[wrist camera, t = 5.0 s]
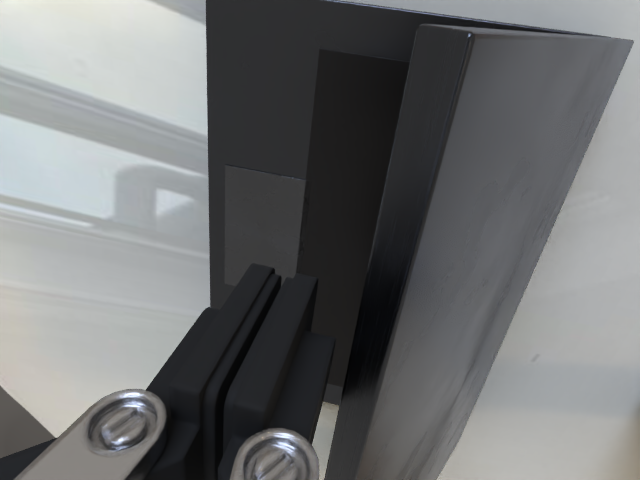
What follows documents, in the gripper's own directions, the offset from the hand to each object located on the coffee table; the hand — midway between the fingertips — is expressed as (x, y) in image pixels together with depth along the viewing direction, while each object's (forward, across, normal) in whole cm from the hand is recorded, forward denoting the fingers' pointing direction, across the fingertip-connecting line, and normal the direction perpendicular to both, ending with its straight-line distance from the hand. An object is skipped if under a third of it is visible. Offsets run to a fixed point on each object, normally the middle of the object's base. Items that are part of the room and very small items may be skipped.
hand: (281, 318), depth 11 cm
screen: (+8, -6, +8) cm, 13 cm away
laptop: (+19, -1, +8) cm, 21 cm away
